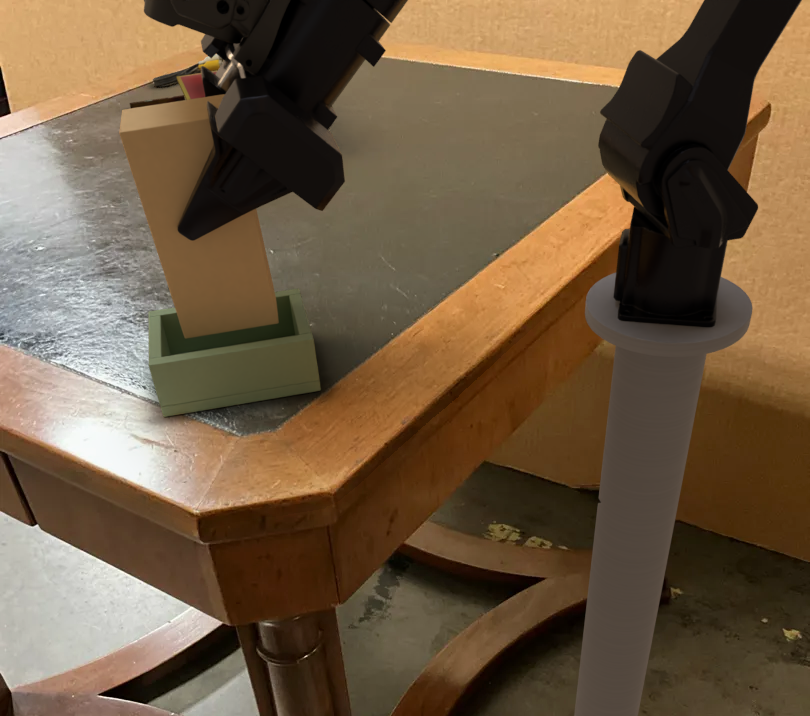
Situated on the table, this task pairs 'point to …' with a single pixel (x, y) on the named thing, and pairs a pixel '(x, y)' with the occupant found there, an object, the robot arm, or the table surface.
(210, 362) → the holder
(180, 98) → the dark brown stick
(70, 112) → the table surface
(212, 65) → the composite cable
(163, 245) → the tan rectangular block
